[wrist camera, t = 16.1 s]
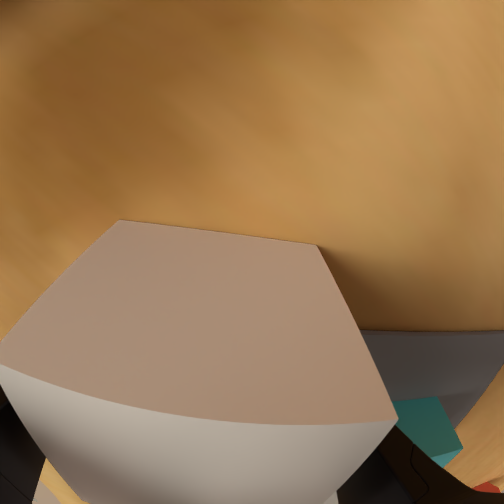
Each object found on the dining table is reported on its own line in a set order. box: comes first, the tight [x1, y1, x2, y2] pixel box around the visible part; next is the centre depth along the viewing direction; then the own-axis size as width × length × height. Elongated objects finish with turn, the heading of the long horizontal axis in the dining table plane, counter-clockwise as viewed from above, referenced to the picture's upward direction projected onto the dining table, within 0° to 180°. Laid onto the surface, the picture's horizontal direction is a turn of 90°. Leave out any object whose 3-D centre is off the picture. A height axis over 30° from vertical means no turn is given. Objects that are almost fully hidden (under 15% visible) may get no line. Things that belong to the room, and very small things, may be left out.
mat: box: [359, 330, 504, 429], centre depth 17 cm, size 24×14×1 cm, turn 172°
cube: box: [392, 396, 463, 468], centre depth 13 cm, size 4×4×4 cm
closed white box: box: [0, 220, 398, 504], centre depth 8 cm, size 7×7×7 cm
